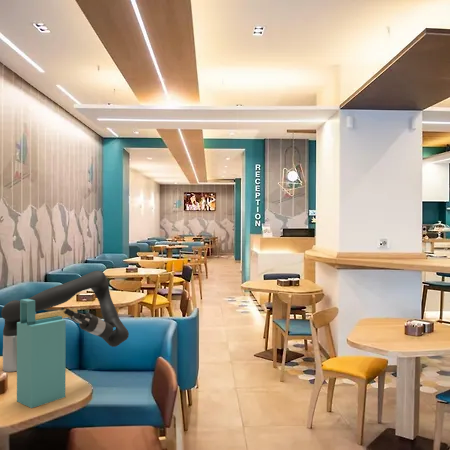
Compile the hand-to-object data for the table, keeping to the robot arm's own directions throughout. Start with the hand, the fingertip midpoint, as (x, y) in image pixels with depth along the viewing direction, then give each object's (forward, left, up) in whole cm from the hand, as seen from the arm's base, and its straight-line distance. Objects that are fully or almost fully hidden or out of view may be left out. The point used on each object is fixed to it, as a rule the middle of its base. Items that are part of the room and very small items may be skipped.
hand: (63, 310), depth 201 cm
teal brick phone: (0, -10, -35) cm, 36 cm away
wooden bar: (0, -4, -3) cm, 5 cm away
